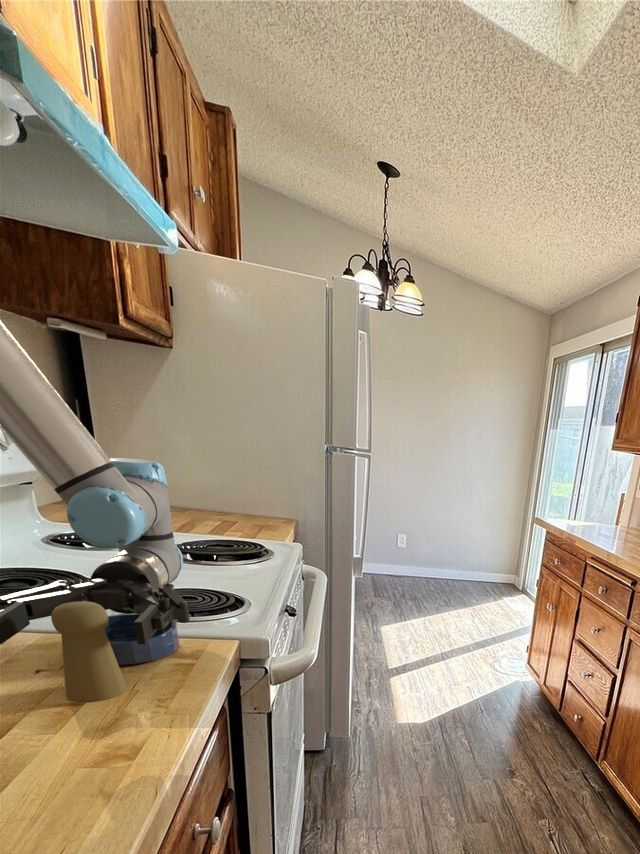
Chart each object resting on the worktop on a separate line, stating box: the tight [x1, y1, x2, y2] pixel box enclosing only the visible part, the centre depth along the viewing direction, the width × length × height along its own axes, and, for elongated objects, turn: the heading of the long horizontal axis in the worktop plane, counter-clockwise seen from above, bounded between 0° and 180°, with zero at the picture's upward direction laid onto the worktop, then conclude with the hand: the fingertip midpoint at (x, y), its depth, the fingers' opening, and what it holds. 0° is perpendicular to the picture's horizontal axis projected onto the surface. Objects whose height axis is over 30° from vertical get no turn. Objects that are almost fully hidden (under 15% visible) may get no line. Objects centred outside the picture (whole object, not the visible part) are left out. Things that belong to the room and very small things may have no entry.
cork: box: [50, 601, 128, 703], centre depth 65 cm, size 6×6×11 cm
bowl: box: [105, 613, 180, 666], centre depth 78 cm, size 12×12×4 cm
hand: (69, 633), depth 61 cm, fingers open, 13 cm apart
